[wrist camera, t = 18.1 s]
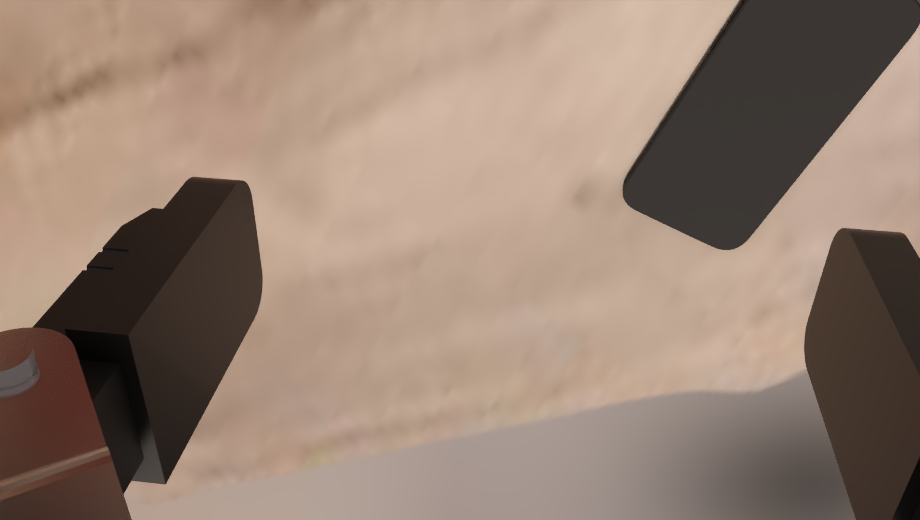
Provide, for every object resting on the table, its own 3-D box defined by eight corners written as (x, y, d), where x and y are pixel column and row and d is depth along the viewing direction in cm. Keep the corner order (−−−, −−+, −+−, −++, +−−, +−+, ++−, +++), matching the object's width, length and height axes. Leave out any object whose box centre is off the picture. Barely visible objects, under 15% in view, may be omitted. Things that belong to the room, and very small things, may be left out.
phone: (613, 200, 45) (791, -69, 36) (612, 192, 46) (787, -74, 37) (734, 257, 46) (935, 8, 37) (732, 249, 46) (929, 3, 38)
